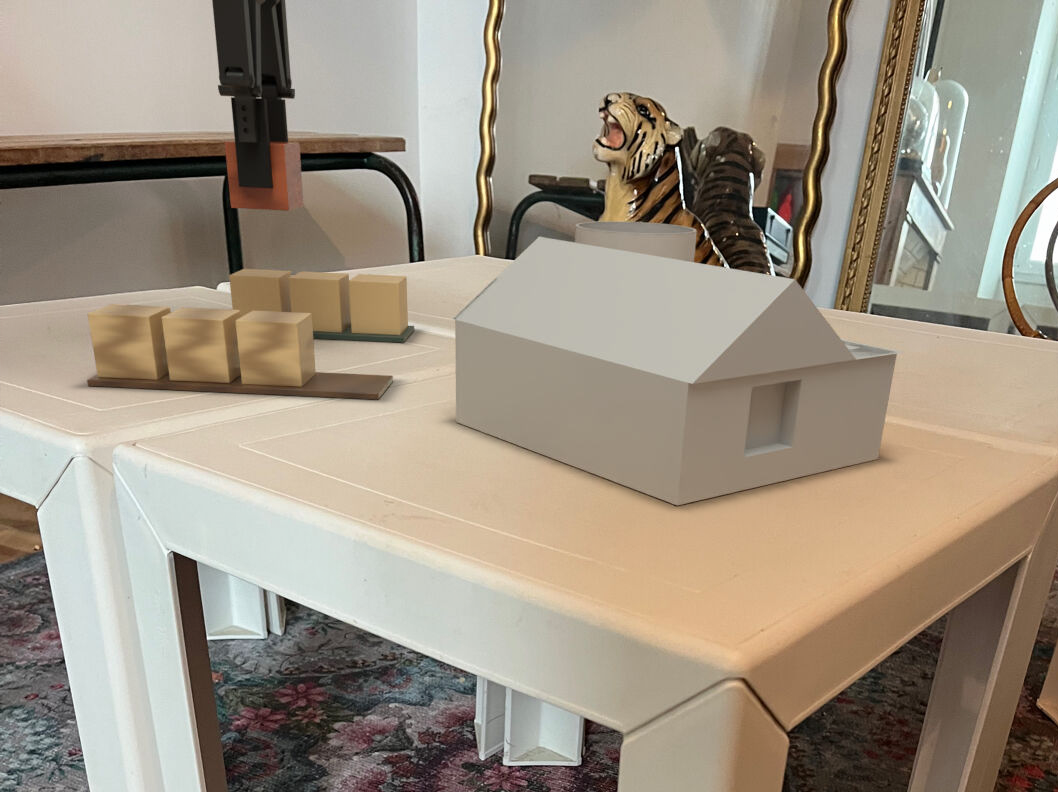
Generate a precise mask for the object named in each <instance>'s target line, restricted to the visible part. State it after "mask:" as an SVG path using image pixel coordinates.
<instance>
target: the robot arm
mask: <svg viewBox="0 0 1058 792" xmlns="http://www.w3.org/2000/svg"><path fill="white" fill-rule="evenodd" d="M211 2H212V3H211V4H212V10H213V12H212V13H213V23H214V24H213V25H214V34H215V44H216V54H217V55H216V56H217V66H218V80H219V84H218V85H217V90H218V93H219V96H221V97H230V102H231V115H232V123H233V135H234V136H233V137H234V141H235V147H236V158H237V169H238V180H239V187H253V188H273V179H272V166H271V153H270V141H276V142H289V134H288V133H289V132H288V120H287V119H288V118H287V107H286V106H287V105H286V99H288V100H289V99H292V100H293V99H294V100H295V97H296V96H295V95H296V89H295V88H292V85H293V83H292V77H291V64H290V63H291V61H290V60H291V59H290V50H289V49H290V48H289V37H288V36H289V34H288V33H289V32H288V20H287V19H288V18H287V8H286V7H287V6H286V5H287V4H286V0H211Z"/></svg>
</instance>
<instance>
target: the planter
mask: <svg viewBox="0 0 1058 792" xmlns="http://www.w3.org/2000/svg"><path fill="white" fill-rule="evenodd" d="M574 225H575V226H574V227H575V228H574V242H575V243H581V244H587V245H593V246H599V247H605V248H611V249H617V250H623V251H629V252H635V253H641V254H647V255H653V256H659V257H665V258H671V259H677V260H683V261H689V262H695V256H696V255H695V254H696V244H697V232H698V231H697V229H696V228H693V227H689V226H684V225H679V224H678V225H677V224H670V223H669V224H668V223H657V222H644V221H643V222H642V221H618V220H617V221H608V220H607V221H605V220H604V221H585V222H579V223H576V224H574Z"/></svg>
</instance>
